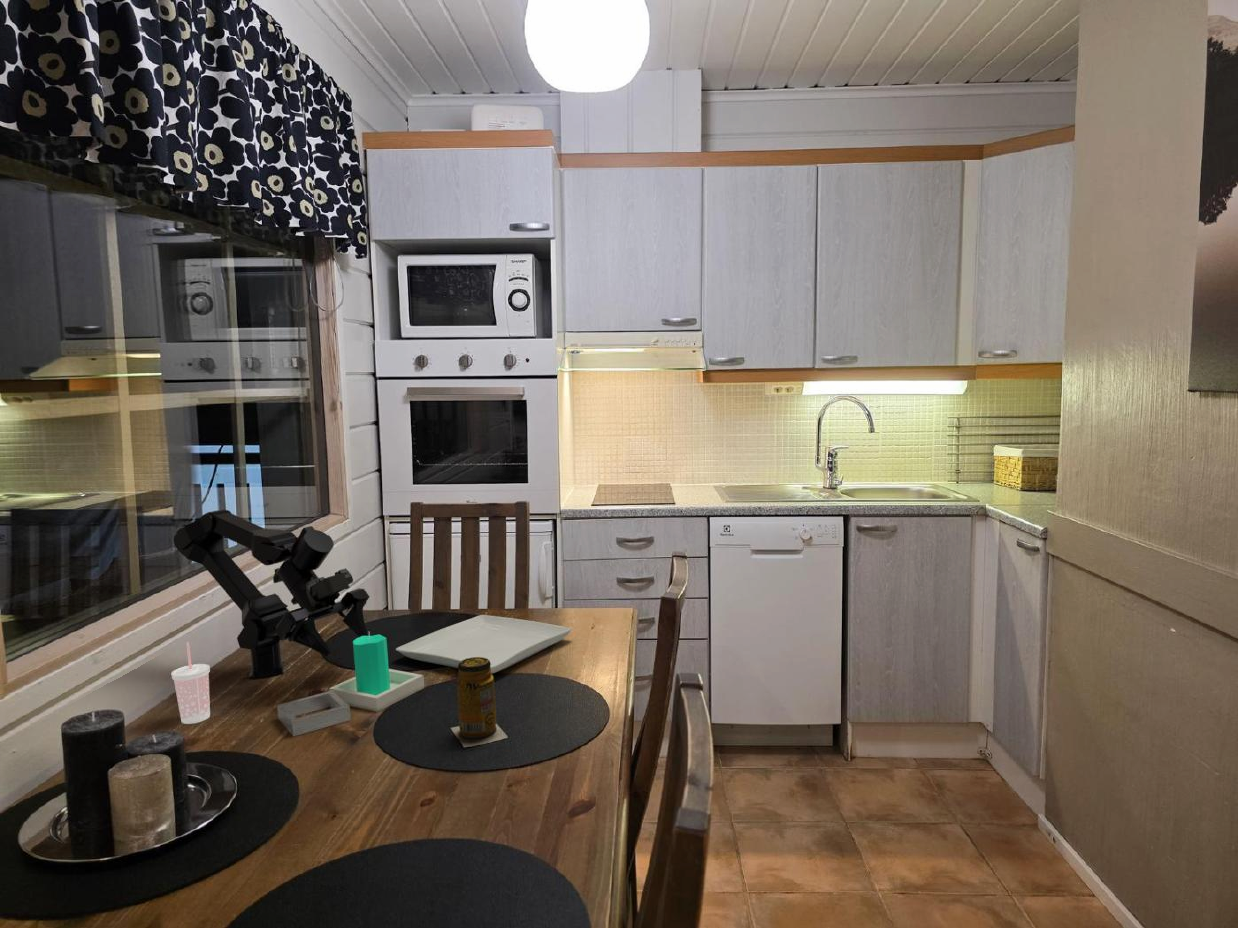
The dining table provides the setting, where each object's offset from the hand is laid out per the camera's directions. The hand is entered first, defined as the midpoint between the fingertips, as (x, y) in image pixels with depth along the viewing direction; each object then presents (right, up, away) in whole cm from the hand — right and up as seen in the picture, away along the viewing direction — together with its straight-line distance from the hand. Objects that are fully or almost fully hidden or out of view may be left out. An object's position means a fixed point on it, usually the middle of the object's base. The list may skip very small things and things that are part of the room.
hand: (348, 646), depth 154 cm
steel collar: (-2, -10, -13) cm, 16 cm away
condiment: (+29, -10, -21) cm, 37 cm away
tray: (+6, -8, -2) cm, 11 cm away
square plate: (+23, -6, +19) cm, 31 cm away
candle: (+6, -8, -3) cm, 11 cm away
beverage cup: (-24, -11, -10) cm, 28 cm away
